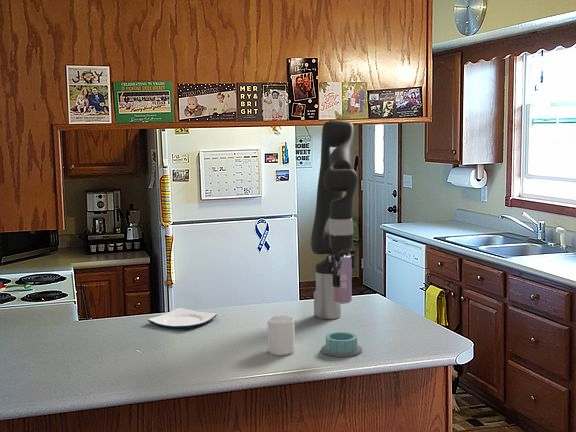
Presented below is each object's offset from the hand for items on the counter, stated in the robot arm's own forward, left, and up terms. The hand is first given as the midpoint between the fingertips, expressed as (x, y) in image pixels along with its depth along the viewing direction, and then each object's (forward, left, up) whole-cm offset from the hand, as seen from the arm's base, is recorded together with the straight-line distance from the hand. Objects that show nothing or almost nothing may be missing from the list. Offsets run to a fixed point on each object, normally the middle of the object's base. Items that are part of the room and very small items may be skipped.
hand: (341, 284), depth 227 cm
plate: (-67, -4, -22) cm, 71 cm away
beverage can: (0, 0, -6) cm, 6 cm away
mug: (-17, -10, -22) cm, 30 cm away
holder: (0, 0, -22) cm, 22 cm away
